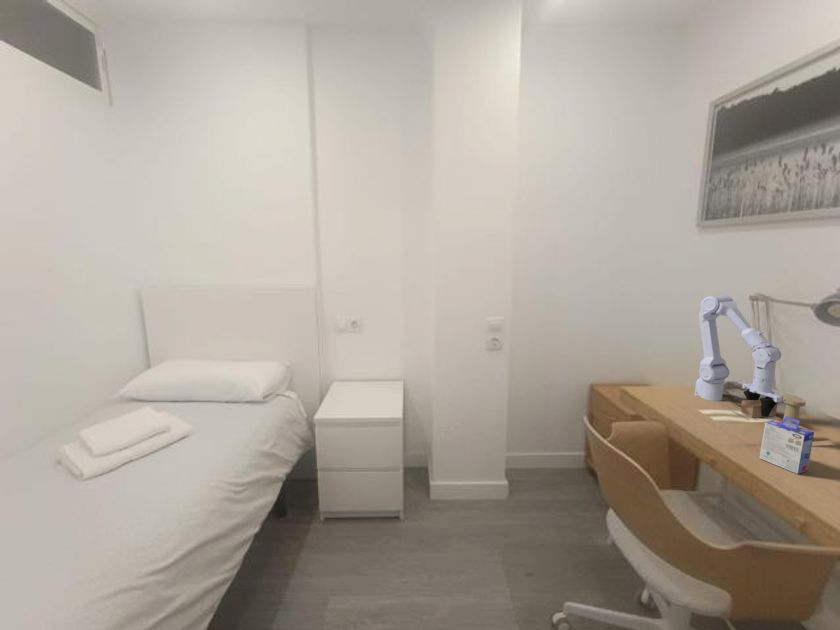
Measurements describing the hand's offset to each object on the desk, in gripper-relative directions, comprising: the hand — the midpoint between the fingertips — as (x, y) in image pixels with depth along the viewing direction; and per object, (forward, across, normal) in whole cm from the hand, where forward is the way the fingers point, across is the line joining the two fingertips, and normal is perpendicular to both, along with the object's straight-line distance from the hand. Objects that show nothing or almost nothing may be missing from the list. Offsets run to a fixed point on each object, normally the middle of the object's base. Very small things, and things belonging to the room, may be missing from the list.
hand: (758, 412), depth 149 cm
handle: (+2, +17, -5) cm, 18 cm away
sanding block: (0, 0, 0) cm, 0 cm away
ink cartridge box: (+2, +30, -19) cm, 36 cm away
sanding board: (+2, 0, -7) cm, 7 cm away
